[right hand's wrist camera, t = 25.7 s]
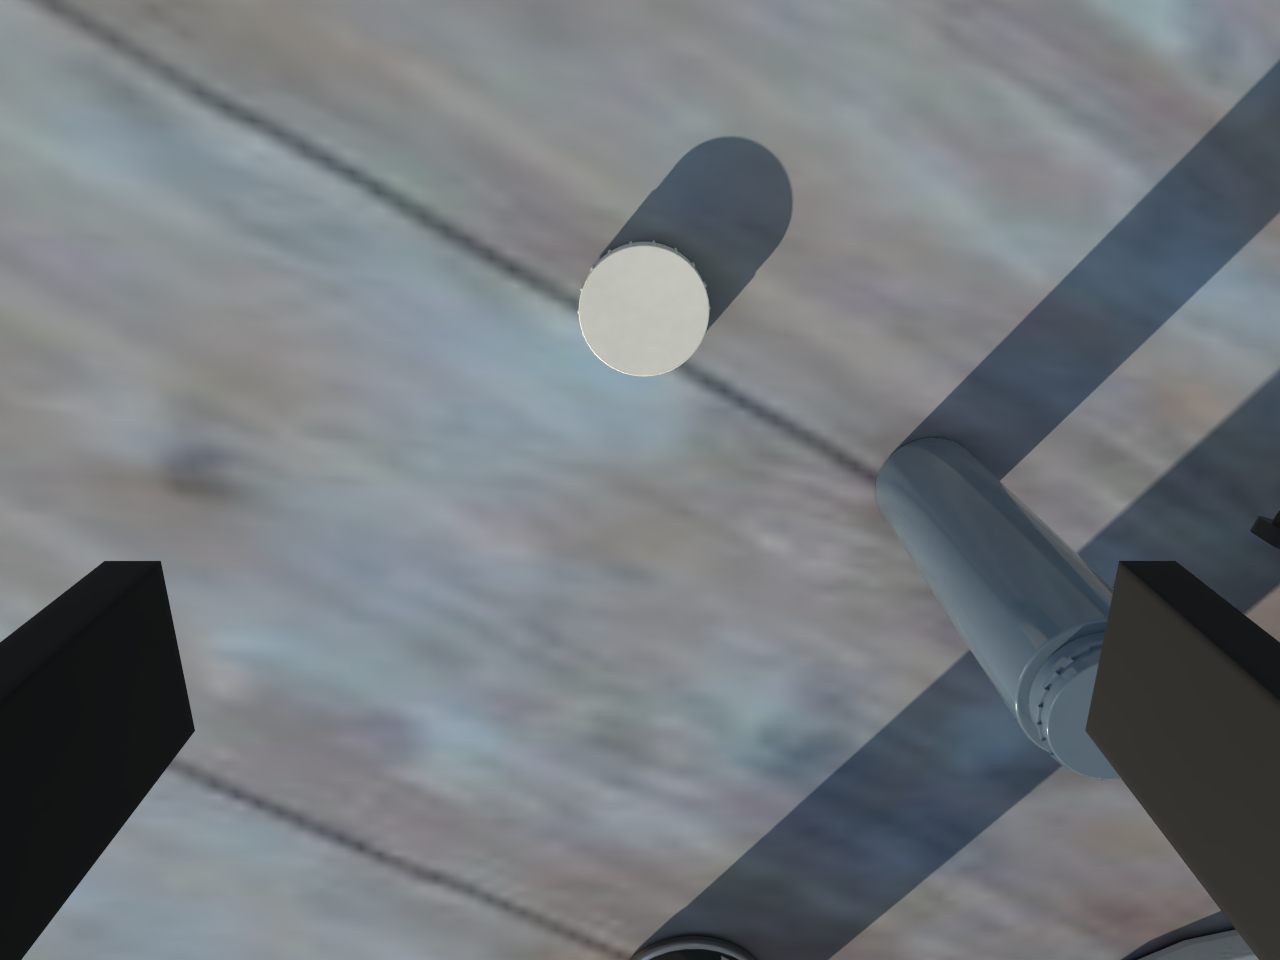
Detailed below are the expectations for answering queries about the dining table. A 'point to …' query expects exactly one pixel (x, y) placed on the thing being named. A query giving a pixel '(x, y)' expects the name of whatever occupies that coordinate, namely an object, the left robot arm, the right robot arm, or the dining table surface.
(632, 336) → the lid
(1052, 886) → the dining table surface
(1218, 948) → the wall clock
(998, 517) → the jar
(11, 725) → the right robot arm
